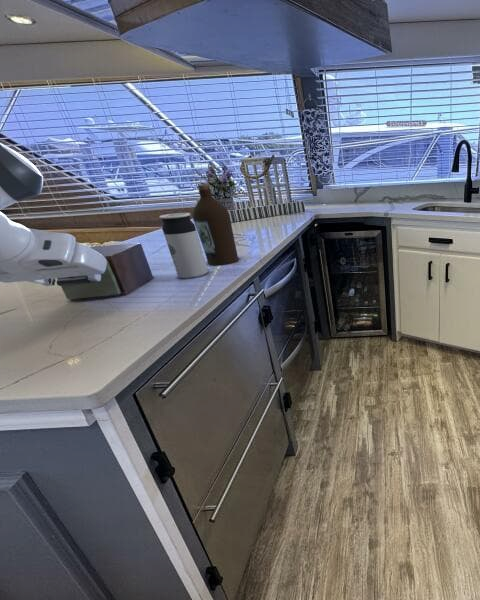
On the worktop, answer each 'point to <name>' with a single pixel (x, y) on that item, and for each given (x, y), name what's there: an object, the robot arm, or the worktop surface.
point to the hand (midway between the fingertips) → (74, 280)
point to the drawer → (90, 285)
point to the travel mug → (184, 245)
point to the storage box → (126, 266)
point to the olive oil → (214, 229)
